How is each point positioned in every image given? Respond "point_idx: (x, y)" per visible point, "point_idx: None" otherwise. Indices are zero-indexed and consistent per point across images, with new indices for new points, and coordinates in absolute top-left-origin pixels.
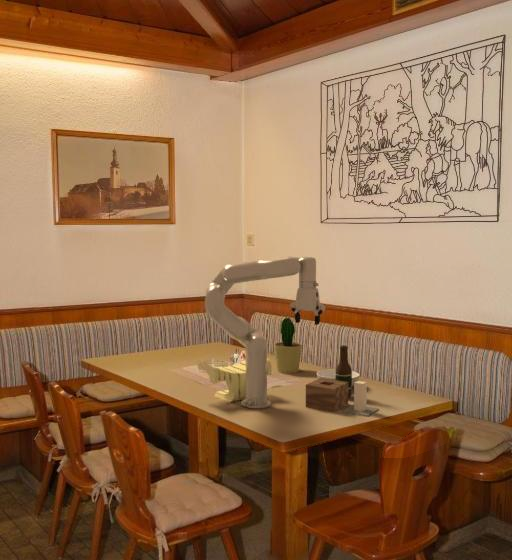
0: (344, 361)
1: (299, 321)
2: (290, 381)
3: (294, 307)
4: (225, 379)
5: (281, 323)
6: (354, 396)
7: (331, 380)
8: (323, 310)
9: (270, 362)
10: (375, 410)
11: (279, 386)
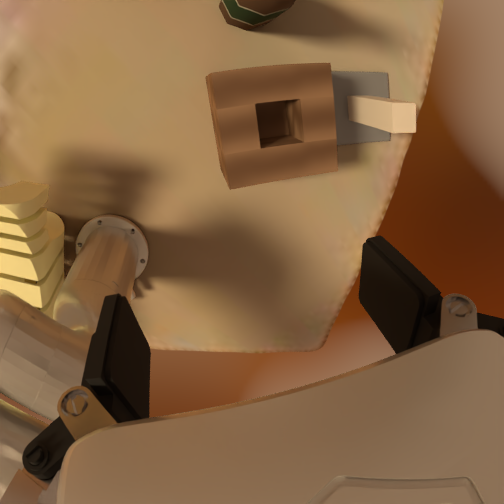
0: None
1: (129, 311)
2: (9, 8)
3: (56, 484)
4: None
5: None
6: (369, 125)
7: (269, 77)
8: None
9: (24, 202)
10: (388, 93)
11: (16, 68)
